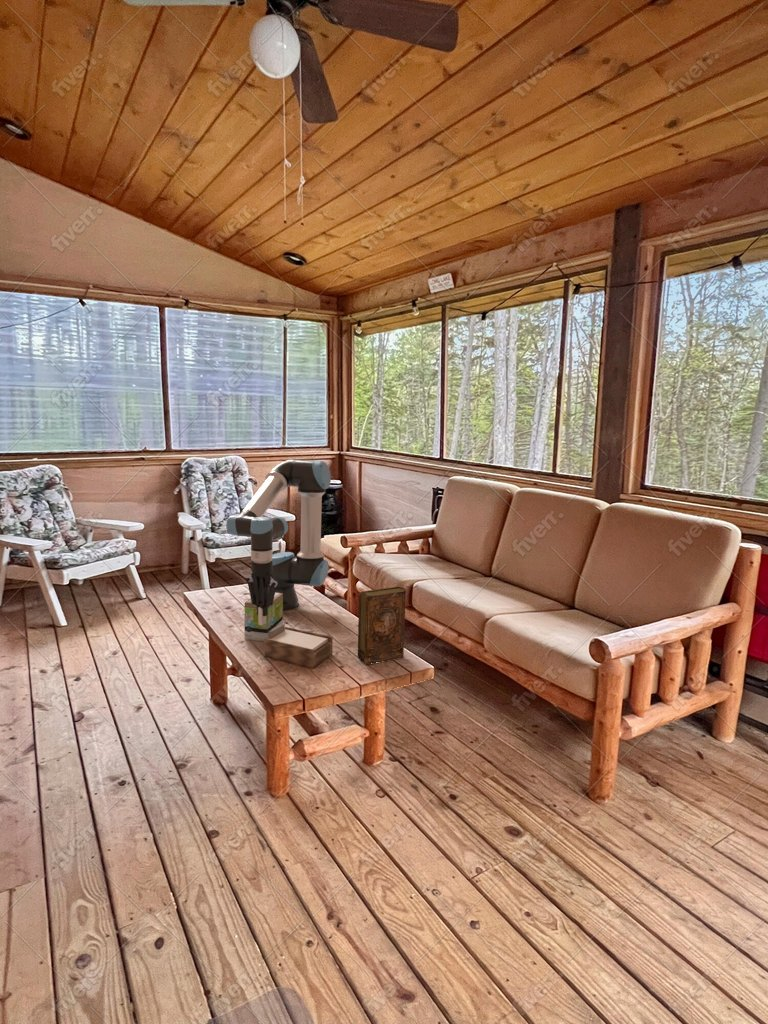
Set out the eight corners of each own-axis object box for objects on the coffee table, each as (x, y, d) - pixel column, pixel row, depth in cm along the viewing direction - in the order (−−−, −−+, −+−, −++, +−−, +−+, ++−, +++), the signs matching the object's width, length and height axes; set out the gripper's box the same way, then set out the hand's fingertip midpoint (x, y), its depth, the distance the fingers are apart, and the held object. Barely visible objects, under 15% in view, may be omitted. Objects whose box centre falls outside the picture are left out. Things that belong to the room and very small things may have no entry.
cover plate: (265, 642, 206) (265, 632, 205) (284, 632, 216) (284, 622, 215) (310, 653, 198) (310, 642, 198) (327, 641, 208) (327, 631, 208)
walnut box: (264, 657, 206) (264, 639, 205) (285, 643, 218) (285, 626, 217) (313, 669, 198) (313, 650, 197) (332, 654, 210) (332, 636, 208)
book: (398, 651, 214) (400, 586, 209) (405, 657, 209) (408, 590, 204) (357, 659, 206) (358, 591, 202) (364, 666, 201) (365, 596, 197)
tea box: (268, 642, 219) (268, 604, 216) (243, 639, 221) (243, 602, 218) (283, 627, 233) (283, 592, 231) (259, 625, 235) (259, 590, 233)
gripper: (240, 560, 207) (241, 623, 212) (270, 565, 202) (271, 630, 206) (253, 556, 214) (254, 617, 218) (283, 560, 209) (283, 623, 213)
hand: (262, 623), depth 212 cm, fingers closed
